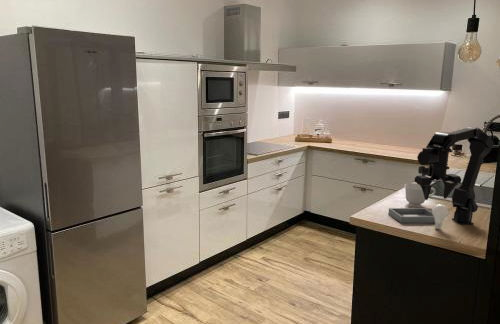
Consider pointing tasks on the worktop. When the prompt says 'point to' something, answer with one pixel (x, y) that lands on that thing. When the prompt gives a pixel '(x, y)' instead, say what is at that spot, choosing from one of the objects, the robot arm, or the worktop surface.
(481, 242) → the worktop surface
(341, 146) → the worktop surface
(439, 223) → the lightbulb
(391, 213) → the tray
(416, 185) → the teacup
